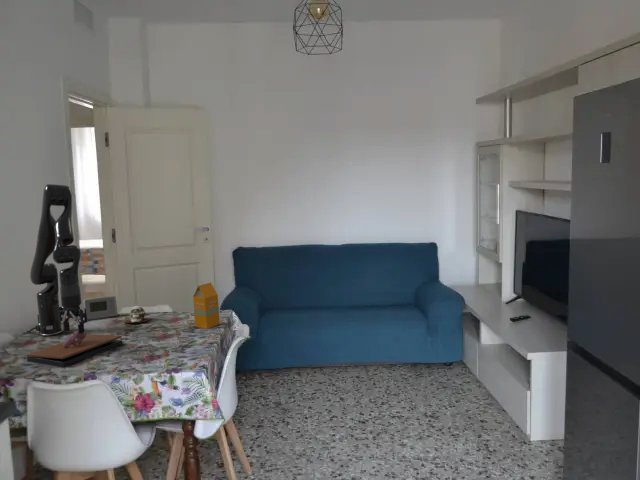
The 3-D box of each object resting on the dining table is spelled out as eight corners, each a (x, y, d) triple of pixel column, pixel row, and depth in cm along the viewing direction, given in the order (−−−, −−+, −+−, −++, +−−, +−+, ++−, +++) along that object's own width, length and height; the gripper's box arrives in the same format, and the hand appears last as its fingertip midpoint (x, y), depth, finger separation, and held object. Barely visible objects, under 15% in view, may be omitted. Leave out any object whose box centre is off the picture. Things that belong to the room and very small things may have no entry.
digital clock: (83, 321, 289) (81, 300, 287) (86, 317, 297) (84, 297, 296) (116, 318, 292) (115, 297, 291) (119, 314, 301) (117, 294, 300)
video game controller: (70, 351, 231) (75, 336, 230) (61, 347, 232) (66, 331, 230) (85, 344, 241) (90, 330, 239) (76, 340, 241) (80, 325, 240)
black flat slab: (122, 344, 245) (122, 340, 245) (63, 367, 218) (63, 362, 218) (87, 339, 254) (87, 335, 254) (27, 361, 228) (27, 356, 227)
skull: (148, 321, 277) (132, 307, 276) (133, 336, 278) (118, 321, 277) (154, 314, 289) (139, 301, 288) (140, 328, 290) (126, 315, 289)
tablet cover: (121, 337, 244) (121, 335, 244) (63, 359, 218) (62, 357, 218) (87, 336, 254) (87, 334, 254) (27, 356, 227) (26, 354, 227)
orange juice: (219, 324, 272) (217, 283, 269) (207, 328, 264) (204, 286, 262) (207, 322, 276) (205, 281, 273) (194, 326, 268) (191, 285, 266)
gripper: (90, 293, 233) (93, 331, 235) (66, 290, 240) (69, 328, 242) (75, 297, 227) (78, 336, 229) (50, 294, 233) (54, 332, 235)
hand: (74, 332), depth 235 cm, fingers open, 8 cm apart
